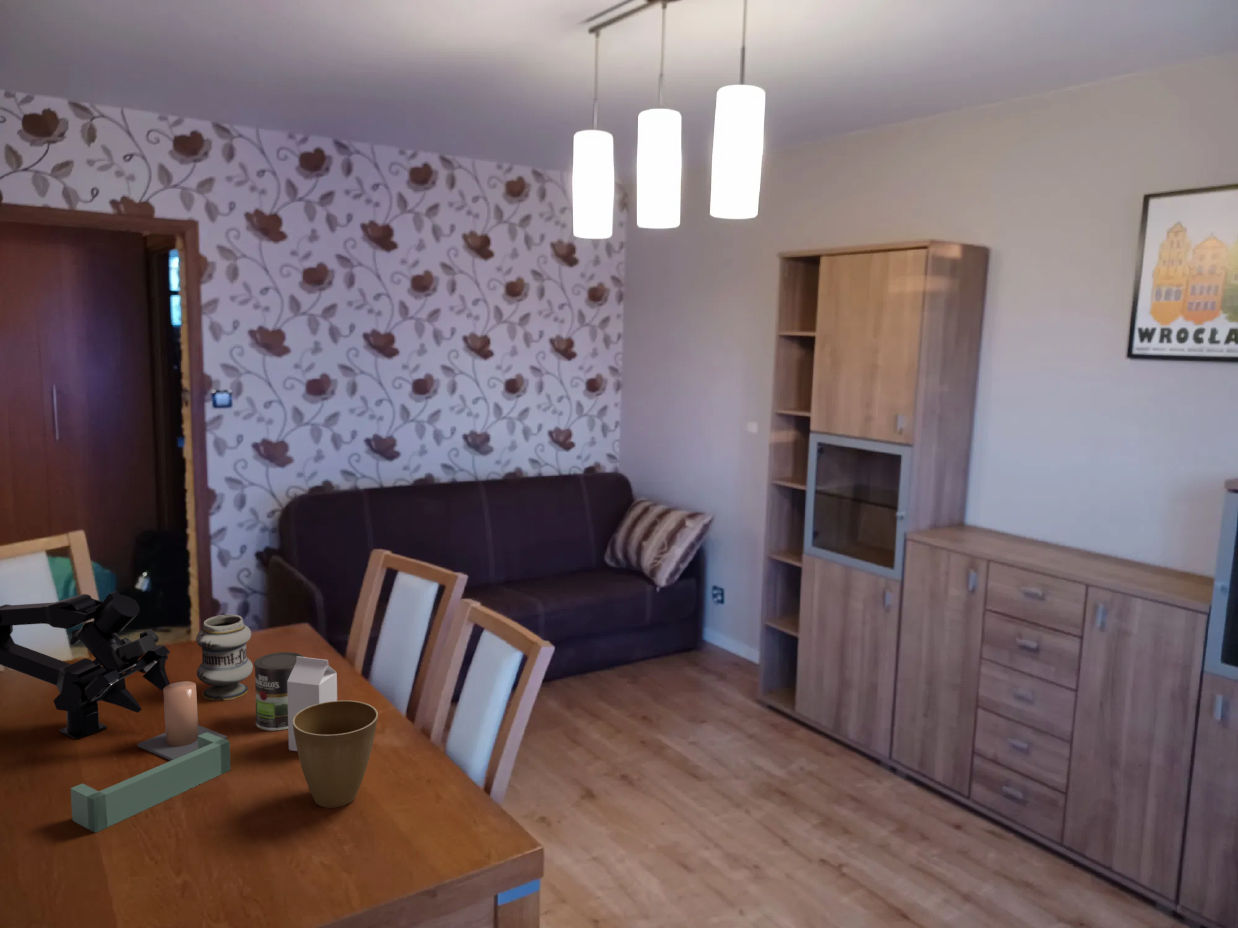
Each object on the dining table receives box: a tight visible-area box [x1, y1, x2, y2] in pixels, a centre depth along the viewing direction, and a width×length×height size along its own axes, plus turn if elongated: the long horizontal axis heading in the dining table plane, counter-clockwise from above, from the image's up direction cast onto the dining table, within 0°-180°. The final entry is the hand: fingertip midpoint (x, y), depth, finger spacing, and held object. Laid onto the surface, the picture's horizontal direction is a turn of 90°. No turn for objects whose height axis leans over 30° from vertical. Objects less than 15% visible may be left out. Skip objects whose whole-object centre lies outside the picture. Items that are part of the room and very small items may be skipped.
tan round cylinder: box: [162, 680, 199, 746], centre depth 179 cm, size 6×6×12 cm
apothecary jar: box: [195, 614, 254, 702], centre depth 204 cm, size 12×12×18 cm
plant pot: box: [293, 699, 379, 809], centre depth 159 cm, size 15×15×16 cm
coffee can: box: [253, 651, 305, 732], centre depth 190 cm, size 10×10×14 cm
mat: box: [136, 724, 228, 761], centre depth 180 cm, size 12×12×1 cm
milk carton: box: [287, 656, 338, 752], centre depth 179 cm, size 7×7×19 cm
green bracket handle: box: [70, 732, 231, 834], centre depth 159 cm, size 7×26×6 cm, turn 150°
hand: (155, 701), depth 179 cm, fingers open, 9 cm apart
